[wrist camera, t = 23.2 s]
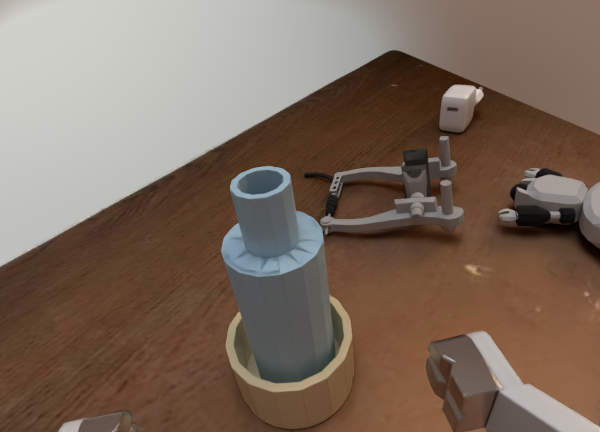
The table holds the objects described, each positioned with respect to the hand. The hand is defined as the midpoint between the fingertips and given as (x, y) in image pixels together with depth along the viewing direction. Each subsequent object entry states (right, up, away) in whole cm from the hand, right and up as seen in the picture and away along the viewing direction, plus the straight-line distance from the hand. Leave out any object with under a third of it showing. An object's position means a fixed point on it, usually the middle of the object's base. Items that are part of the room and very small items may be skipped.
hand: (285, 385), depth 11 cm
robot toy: (+30, +3, +30) cm, 42 cm away
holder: (0, -8, +20) cm, 22 cm away
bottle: (0, -7, +20) cm, 21 cm away
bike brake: (+9, +5, +37) cm, 38 cm away
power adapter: (+27, +20, +54) cm, 63 cm away
